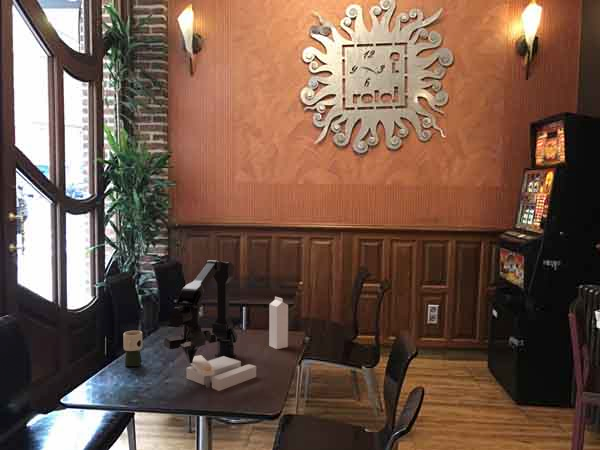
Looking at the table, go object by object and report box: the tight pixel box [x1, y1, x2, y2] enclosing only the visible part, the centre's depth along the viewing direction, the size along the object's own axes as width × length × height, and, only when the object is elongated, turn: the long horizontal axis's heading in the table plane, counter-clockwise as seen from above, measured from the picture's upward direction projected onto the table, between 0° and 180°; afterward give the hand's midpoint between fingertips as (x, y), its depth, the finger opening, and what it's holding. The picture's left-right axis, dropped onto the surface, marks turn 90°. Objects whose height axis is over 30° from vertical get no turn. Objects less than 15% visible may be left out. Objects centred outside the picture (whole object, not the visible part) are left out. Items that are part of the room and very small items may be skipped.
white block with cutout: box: [186, 356, 257, 392], centre depth 194 cm, size 18×19×4 cm
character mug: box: [122, 330, 143, 367], centre depth 206 cm, size 11×7×13 cm, turn 3°
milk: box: [268, 296, 289, 350], centre depth 232 cm, size 6×6×22 cm
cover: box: [187, 354, 214, 377], centre depth 192 cm, size 5×18×2 cm, turn 27°
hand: (190, 363), depth 194 cm, fingers closed
